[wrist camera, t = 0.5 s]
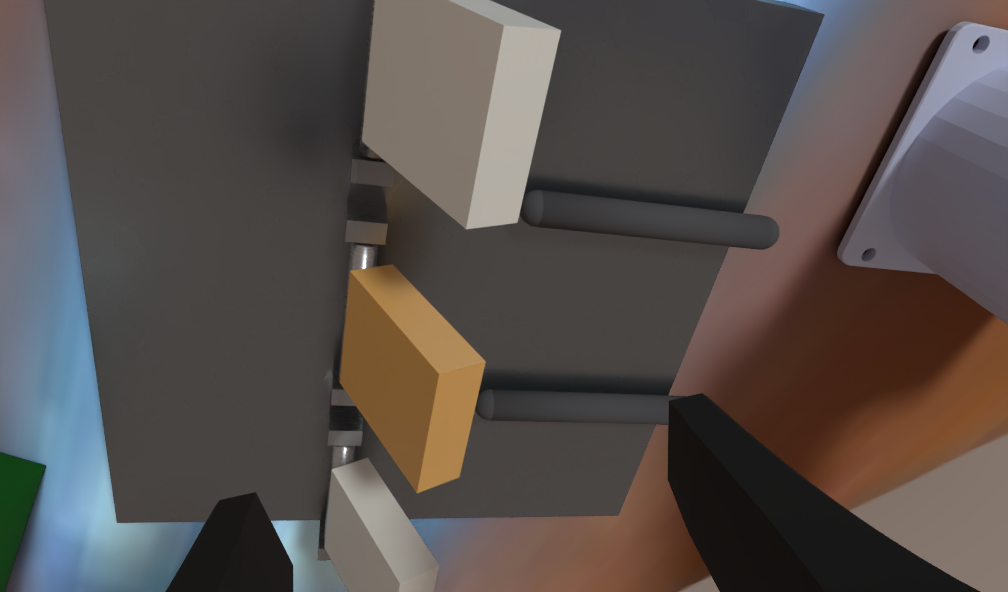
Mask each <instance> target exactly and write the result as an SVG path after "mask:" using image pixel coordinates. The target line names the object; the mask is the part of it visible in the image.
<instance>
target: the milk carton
mask: <svg viewBox="0 0 1008 592" xmlns="http://www.w3.org/2000/svg"><path fill="white" fill-rule="evenodd" d="M45 467H46V466H45V465H42V464H39V463H35V462H32V461H28V460H25V459H21V458H18V457H14V456H11V455H8V454H4V453H1V452H0V592H5V590H6V587H7V584H8V581H9V577H10V574H11V571H12V568H13V564H14V561H15V558H16V555H17V552H18V548H19V545H20V542H21V539H22V536H23V533H24V530H25V527H26V524H27V521H28V518H29V515H30V512H31V509H32V506H33V503H34V500H35V497H36V494H37V491H38V488H39V485H40V482H41V479H42V476H43V473H44V470H45Z"/></svg>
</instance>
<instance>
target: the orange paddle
mask: <svg viewBox="0 0 1008 592" xmlns="http://www.w3.org/2000/svg"><path fill="white" fill-rule="evenodd" d="M485 363H486V361H485V360H484V359H483V358H482V357H481V356H480V355H479V354H478V353H477V352H476V351H475V350H474V349H473V348H472V347H471V346H470V345H469V343H468V342H467V341H466V340H465V339H464V338H463V337H462V336H461V335H460V334H459V333H458V332H457V331H456V330H455V329H454V328H453V327H452V326H451V325H450V324H449V323H448V322H447V321H446V319H445V318H444V317H443V316H442V315H441V314H440V313H439V312H438V311H437V310H436V309H435V308H434V307H433V306H432V305H431V304H430V303H429V302H428V301H427V300H426V299H425V298H424V297H423V296H422V294H421V293H420V292H419V291H418V290H417V289H416V288H415V287H414V286H413V285H412V284H411V283H410V282H409V281H408V280H407V279H406V278H405V277H404V276H403V275H402V274H401V273H400V272H399V270H398V269H397V268H396V267H395V266H394V265H393V264H392V265H385V266H379V267H372V268H365V269H359V270H352V271H350V275H349V286H348V297H347V308H346V319H345V329H344V340H343V351H342V362H341V373H340V384H341V385H342V387H343V388H344V389H345V391H346V392H347V394H348V395H349V397H350V398H351V399H352V401H353V402H354V404H355V405H356V407H357V408H358V410H359V411H360V412H361V414H362V415H363V417H364V418H365V420H366V421H367V422H368V424H369V425H370V427H371V428H372V430H373V431H374V433H375V434H376V435H377V437H378V438H379V440H380V441H381V443H382V444H383V445H384V447H385V448H386V450H387V451H388V453H389V454H390V455H391V457H392V458H393V460H394V461H395V463H396V464H397V466H398V467H399V468H400V470H401V471H402V473H403V474H404V476H405V477H406V478H407V480H408V481H409V483H410V484H411V486H412V487H413V489H414V490H415V491H416V493H419V492H422V491H425V490H427V489H430V488H433V487H435V486H438V485H440V484H443V483H446V482H448V481H451V480H454V479H456V478H459V477H460V473H461V468H462V464H463V459H464V455H465V451H466V446H467V442H468V437H469V433H470V429H471V424H472V420H473V415H474V411H475V407H476V402H477V398H478V394H479V389H480V385H481V380H482V376H483V372H484V367H485Z"/></svg>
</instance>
